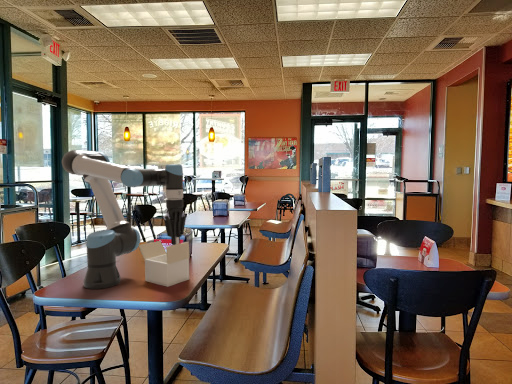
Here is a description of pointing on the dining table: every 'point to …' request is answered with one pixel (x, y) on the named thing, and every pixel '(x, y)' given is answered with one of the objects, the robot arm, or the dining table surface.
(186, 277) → the carton
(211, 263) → the dining table surface
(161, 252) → the far flap
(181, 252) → the near flap
